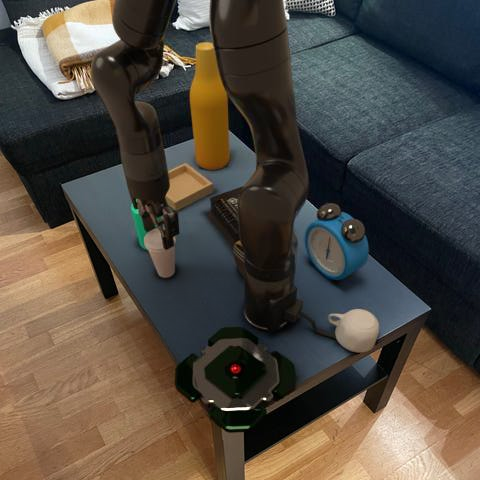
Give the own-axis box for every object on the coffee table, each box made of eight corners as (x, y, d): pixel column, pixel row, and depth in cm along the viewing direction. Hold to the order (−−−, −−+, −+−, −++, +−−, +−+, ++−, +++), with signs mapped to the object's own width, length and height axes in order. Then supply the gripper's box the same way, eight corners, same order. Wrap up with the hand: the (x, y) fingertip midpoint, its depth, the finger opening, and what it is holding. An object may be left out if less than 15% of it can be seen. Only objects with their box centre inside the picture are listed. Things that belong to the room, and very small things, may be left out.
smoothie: (176, 284, 101) (166, 234, 90) (147, 280, 102) (134, 230, 91) (184, 263, 105) (176, 212, 94) (156, 259, 106) (145, 209, 95)
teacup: (376, 342, 84) (367, 359, 88) (389, 314, 88) (380, 331, 93) (324, 318, 86) (318, 336, 91) (339, 292, 91) (333, 310, 95)
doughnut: (231, 266, 104) (230, 231, 96) (245, 259, 105) (245, 225, 97) (255, 293, 99) (255, 259, 91) (269, 286, 100) (271, 252, 92)
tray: (213, 192, 120) (212, 183, 118) (175, 211, 115) (174, 202, 113) (186, 171, 125) (185, 162, 123) (149, 189, 121) (148, 180, 119)
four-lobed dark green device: (232, 327, 94) (232, 312, 90) (304, 378, 86) (308, 364, 83) (165, 383, 85) (162, 369, 82) (239, 446, 78) (240, 433, 74)
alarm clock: (300, 257, 105) (307, 203, 93) (321, 245, 107) (330, 191, 95) (342, 292, 99) (355, 239, 87) (363, 279, 101) (378, 225, 89)
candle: (151, 229, 112) (142, 186, 102) (170, 239, 109) (163, 196, 100) (134, 243, 109) (123, 201, 99) (153, 254, 106) (144, 212, 97)
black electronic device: (204, 212, 115) (198, 149, 101) (254, 195, 119) (255, 131, 105) (244, 264, 104) (243, 201, 91) (297, 243, 108) (304, 179, 94)
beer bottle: (204, 174, 124) (194, 59, 101) (190, 156, 129) (177, 42, 107) (235, 164, 127) (233, 49, 104) (220, 147, 132) (214, 34, 109)
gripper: (105, 156, 84) (124, 228, 98) (149, 195, 77) (164, 266, 91) (141, 141, 87) (155, 212, 100) (186, 176, 80) (195, 248, 94)
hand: (159, 238), depth 95 cm, fingers closed on smoothie, 6 cm apart
